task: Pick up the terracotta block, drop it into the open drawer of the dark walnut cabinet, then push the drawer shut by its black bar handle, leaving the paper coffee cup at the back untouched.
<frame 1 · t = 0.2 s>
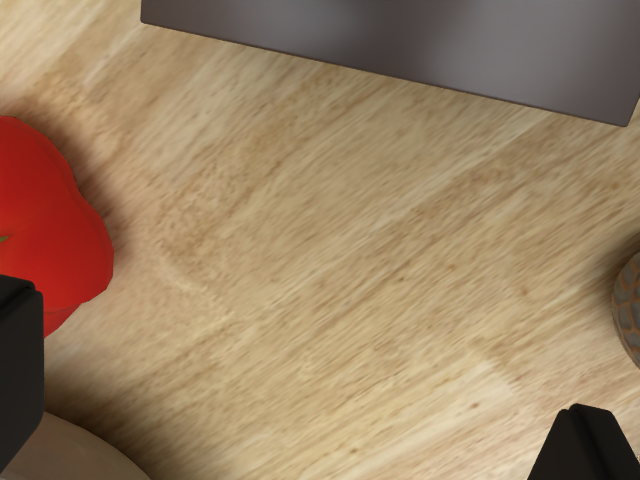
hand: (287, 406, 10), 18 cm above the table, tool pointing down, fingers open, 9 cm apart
tomato: (33, 210, 30), on the table
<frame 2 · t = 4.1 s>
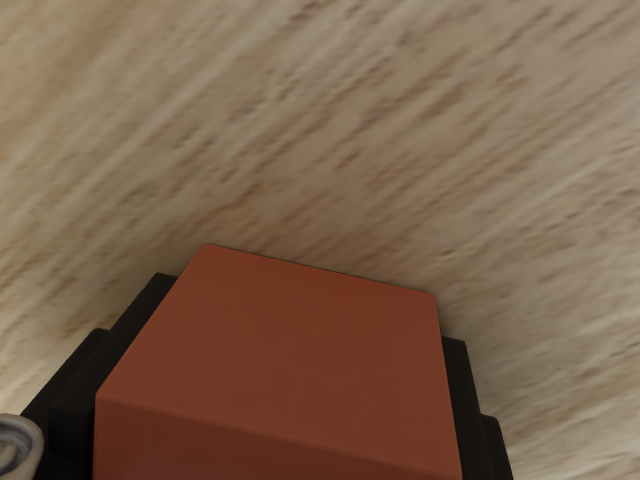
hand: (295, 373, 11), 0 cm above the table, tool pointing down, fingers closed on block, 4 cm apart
block: (298, 362, 12), on the table, touching gripper
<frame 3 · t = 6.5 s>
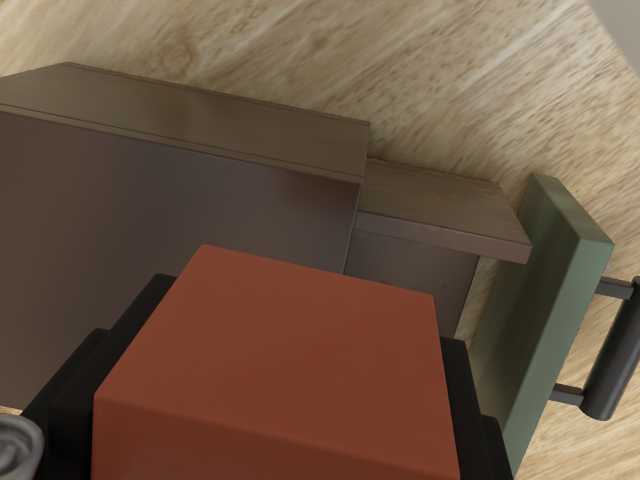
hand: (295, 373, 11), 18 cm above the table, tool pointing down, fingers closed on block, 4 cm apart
drawer: (431, 305, 25), point 5 cm above the table, slide at 7.5 cm
block: (296, 363, 12), point 17 cm above the table, touching gripper
cabinet: (204, 214, 30), on the table
when the fingers open (9 cm above the table, at t = 9.4 s): block drops 6 cm, resting on drawer.
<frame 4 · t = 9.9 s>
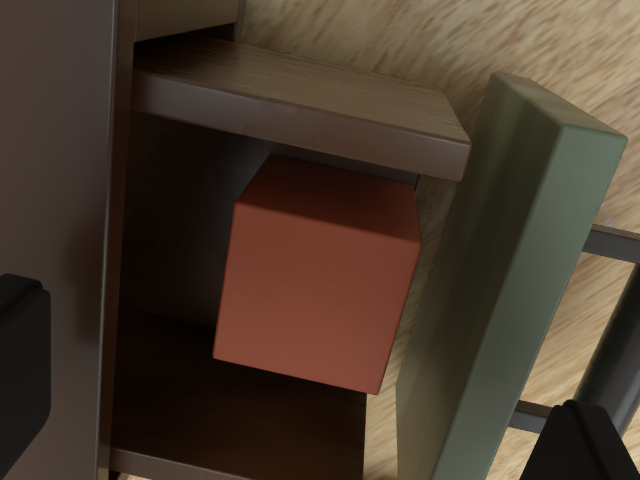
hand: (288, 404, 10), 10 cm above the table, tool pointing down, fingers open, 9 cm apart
drawer: (326, 274, 16), point 5 cm above the table, slide at 7.5 cm, touching block
block: (327, 235, 18), point 2 cm above the table, touching drawer
cabinet: (15, 143, 20), on the table
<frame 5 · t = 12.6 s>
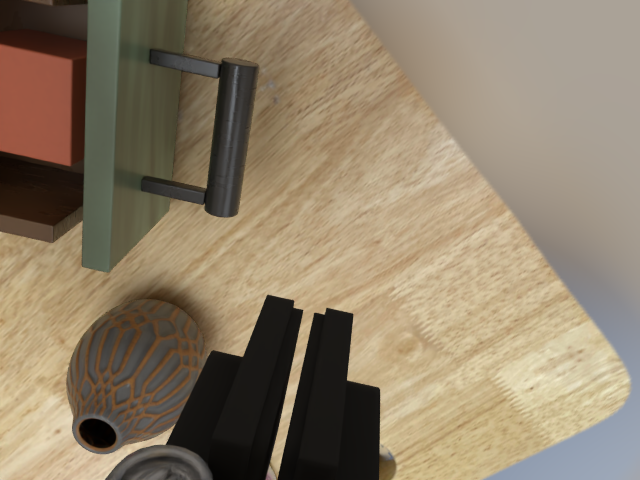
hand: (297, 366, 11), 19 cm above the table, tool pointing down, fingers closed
drawer: (48, 97, 25), point 5 cm above the table, slide at 7.5 cm, touching block
block: (72, 86, 27), point 2 cm above the table, touching drawer
vase: (164, 330, 35), on the table
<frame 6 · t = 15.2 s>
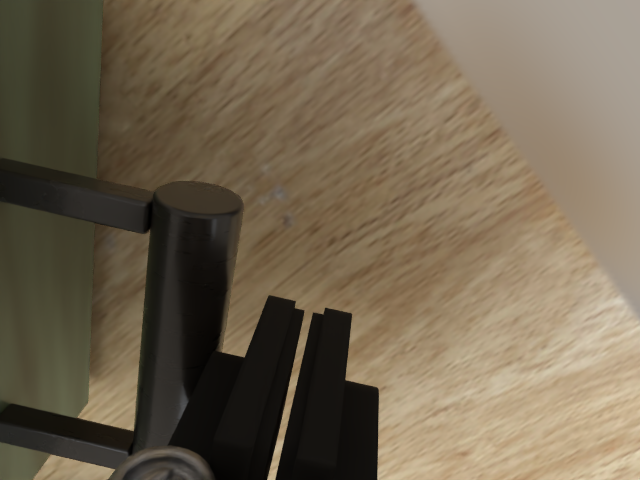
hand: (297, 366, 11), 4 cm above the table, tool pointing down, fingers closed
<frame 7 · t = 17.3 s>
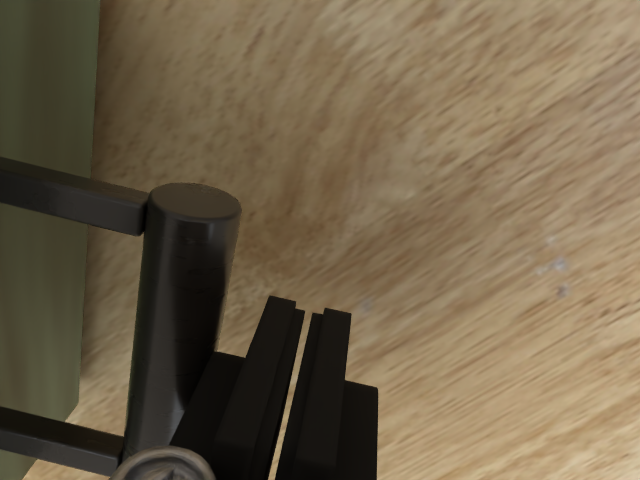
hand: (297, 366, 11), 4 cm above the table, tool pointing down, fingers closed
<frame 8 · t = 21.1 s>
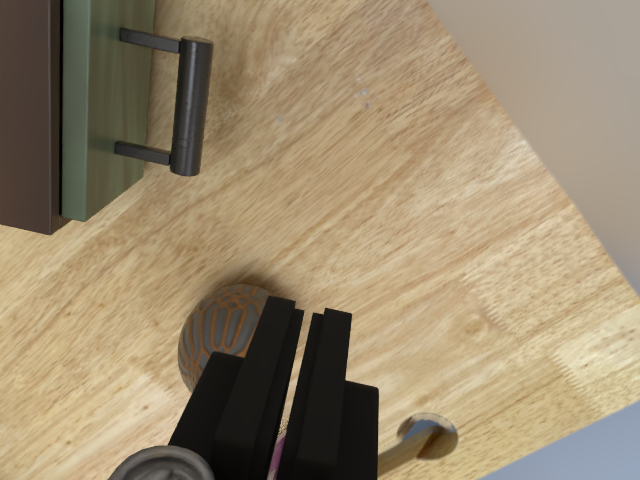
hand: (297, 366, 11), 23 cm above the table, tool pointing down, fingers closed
drawer: (33, 71, 29), point 5 cm above the table, slide at 0.0 cm, touching block, cabinet
pill bottle: (311, 445, 42), on the table
block: (55, 64, 31), point 2 cm above the table, touching drawer
vase: (251, 313, 39), on the table
cabinet: (11, 46, 33), on the table
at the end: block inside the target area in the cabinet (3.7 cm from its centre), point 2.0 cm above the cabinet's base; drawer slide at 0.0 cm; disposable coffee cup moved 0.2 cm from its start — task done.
